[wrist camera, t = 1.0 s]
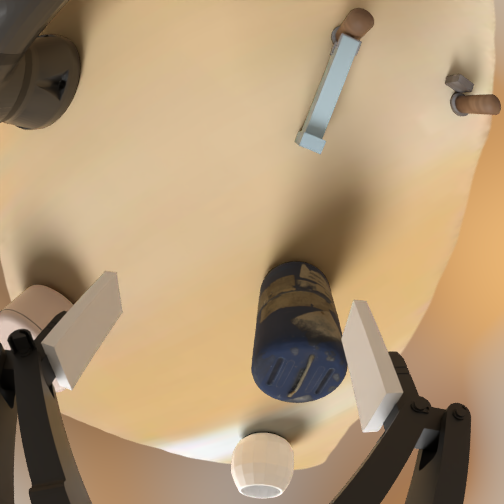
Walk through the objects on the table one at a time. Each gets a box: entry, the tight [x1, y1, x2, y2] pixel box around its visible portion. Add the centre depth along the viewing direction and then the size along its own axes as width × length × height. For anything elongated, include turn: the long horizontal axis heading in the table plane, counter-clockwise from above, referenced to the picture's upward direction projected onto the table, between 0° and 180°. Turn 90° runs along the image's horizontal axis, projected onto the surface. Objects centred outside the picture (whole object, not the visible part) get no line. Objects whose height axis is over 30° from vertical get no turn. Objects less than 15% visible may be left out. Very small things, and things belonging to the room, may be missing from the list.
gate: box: [295, 33, 362, 154], centre depth 28 cm, size 13×2×8 cm, turn 160°
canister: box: [251, 262, 348, 403], centre depth 34 cm, size 10×10×18 cm
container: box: [0, 285, 73, 392], centre depth 44 cm, size 18×18×12 cm
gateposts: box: [331, 8, 501, 116], centre depth 25 cm, size 21×4×8 cm, turn 70°
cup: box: [231, 433, 294, 498], centre depth 52 cm, size 13×13×14 cm
